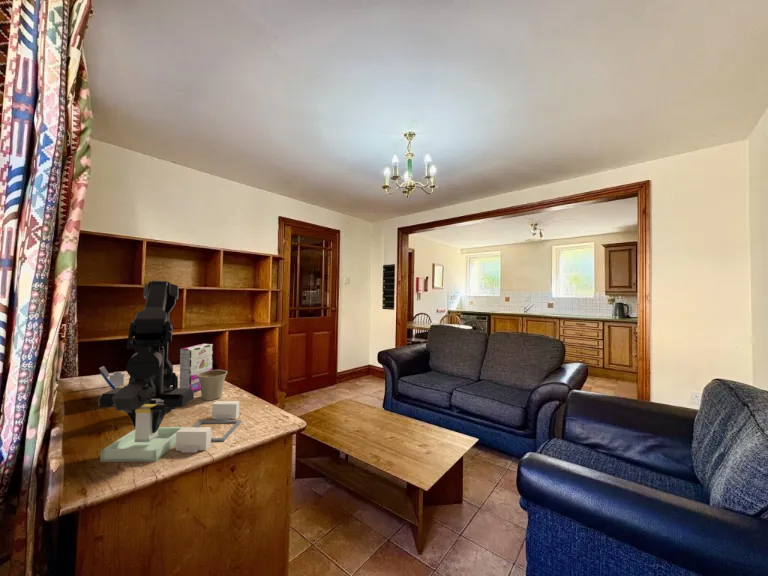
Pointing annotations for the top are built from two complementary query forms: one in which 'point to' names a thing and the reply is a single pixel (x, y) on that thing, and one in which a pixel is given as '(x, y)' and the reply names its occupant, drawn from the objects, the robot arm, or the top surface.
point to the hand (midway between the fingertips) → (147, 432)
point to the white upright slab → (114, 377)
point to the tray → (140, 447)
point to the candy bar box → (194, 364)
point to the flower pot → (212, 383)
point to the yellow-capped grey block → (144, 424)
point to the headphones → (207, 428)
